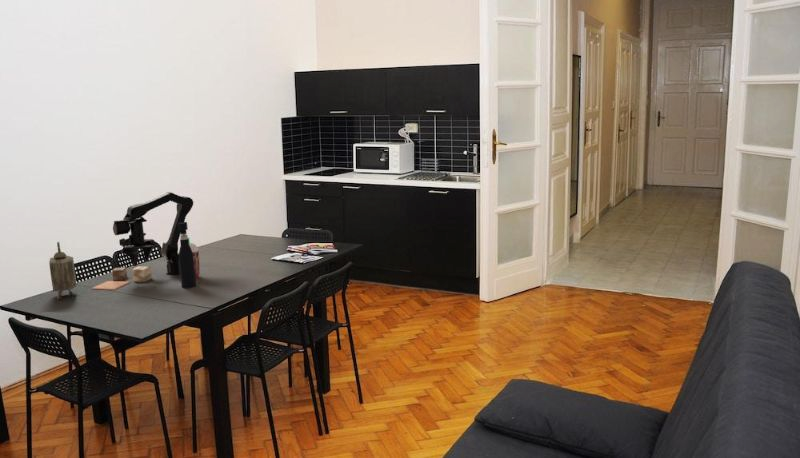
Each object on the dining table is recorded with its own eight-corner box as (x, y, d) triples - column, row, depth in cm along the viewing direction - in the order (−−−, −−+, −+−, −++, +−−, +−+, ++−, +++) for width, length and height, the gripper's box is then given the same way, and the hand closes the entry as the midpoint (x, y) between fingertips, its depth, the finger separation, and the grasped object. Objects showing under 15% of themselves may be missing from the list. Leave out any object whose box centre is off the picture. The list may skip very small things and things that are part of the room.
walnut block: (127, 277, 344) (126, 267, 343) (123, 279, 339) (122, 269, 338) (117, 277, 344) (115, 267, 343) (113, 280, 339) (112, 270, 338)
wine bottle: (183, 288, 318) (176, 224, 312) (180, 285, 323) (174, 222, 318) (197, 286, 321) (191, 222, 315) (194, 283, 326) (188, 220, 320)
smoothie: (205, 276, 339) (201, 236, 335) (193, 280, 331) (189, 239, 327) (191, 275, 342) (187, 235, 338) (180, 279, 335) (175, 238, 331)
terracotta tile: (129, 282, 332) (129, 281, 332) (114, 289, 321) (114, 288, 321) (107, 282, 335) (107, 281, 335) (91, 289, 324) (91, 288, 323)
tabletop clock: (56, 293, 319) (48, 240, 314) (77, 290, 322) (70, 238, 318) (54, 301, 306) (46, 246, 301) (77, 298, 309) (69, 243, 304)
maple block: (151, 278, 340) (150, 266, 338) (144, 281, 334) (143, 269, 333) (140, 278, 341) (139, 266, 340) (133, 281, 335) (132, 269, 334)
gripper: (133, 228, 343) (137, 258, 347) (110, 236, 326) (114, 268, 329) (153, 228, 341) (157, 258, 344) (131, 236, 323) (135, 268, 326)
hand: (141, 263), depth 336 cm, fingers open, 9 cm apart
